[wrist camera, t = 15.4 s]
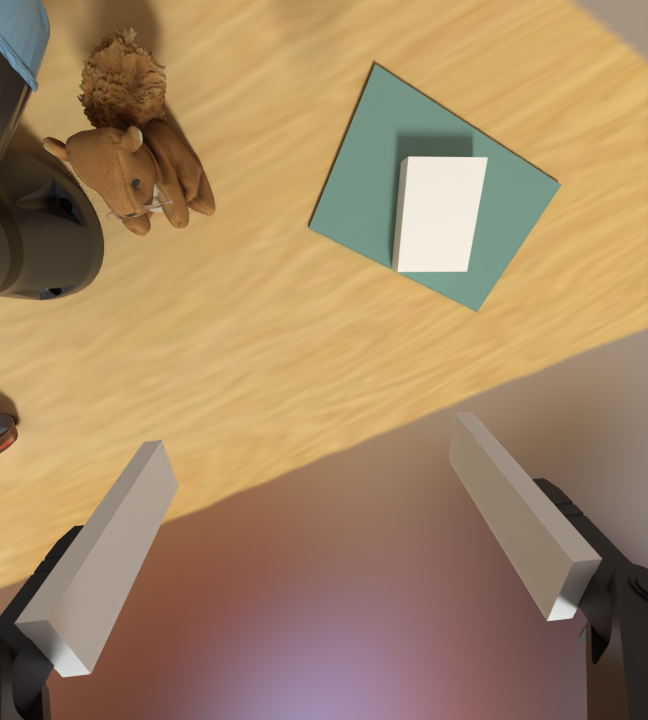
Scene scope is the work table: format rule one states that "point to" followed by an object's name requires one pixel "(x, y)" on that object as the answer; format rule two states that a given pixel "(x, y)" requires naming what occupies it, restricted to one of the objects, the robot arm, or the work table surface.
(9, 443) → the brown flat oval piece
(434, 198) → the card box
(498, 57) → the work table surface
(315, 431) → the work table surface
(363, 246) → the mat
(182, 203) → the stuffed squirrel
